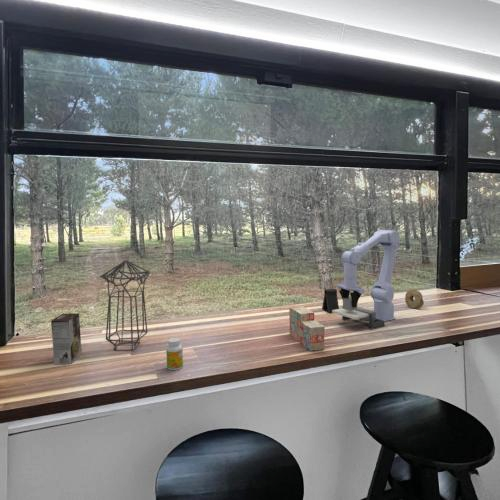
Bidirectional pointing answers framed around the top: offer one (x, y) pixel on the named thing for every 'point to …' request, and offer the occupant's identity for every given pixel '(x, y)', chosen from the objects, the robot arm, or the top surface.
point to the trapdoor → (355, 313)
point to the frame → (370, 321)
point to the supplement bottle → (174, 354)
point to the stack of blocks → (306, 328)
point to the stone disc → (418, 299)
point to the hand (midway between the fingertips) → (350, 306)
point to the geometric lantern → (120, 266)
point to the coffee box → (66, 338)
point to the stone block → (348, 304)
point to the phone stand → (330, 300)
